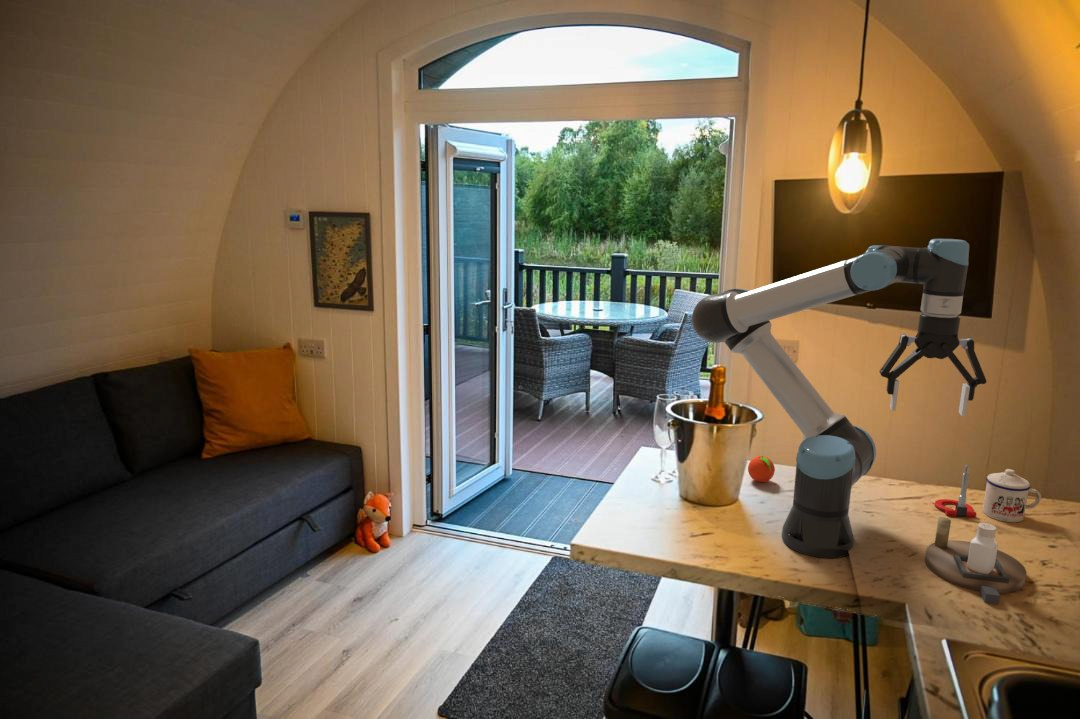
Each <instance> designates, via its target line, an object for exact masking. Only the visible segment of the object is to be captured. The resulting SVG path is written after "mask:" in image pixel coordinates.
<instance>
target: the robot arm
mask: <svg viewBox="0 0 1080 719" xmlns="http://www.w3.org/2000/svg"><path fill="white" fill-rule="evenodd" d="M969 253H970V243H968V242H967V241H966V240H963V239H954V238H933V239H930V241H929V242H928V245H927V247H910V246H898V245H896V246H895V245H888V244H883V245H882V244H880V245H875V244H874V245H871V246H869V247H868V248H867V250H866V251H865V252H864V253H862V254H860V255H857V256H854V257H851V258H849V259H846V260H841V261H839V262H836V263H832V264H829V265H827V266H823V267H820V268H816V269H813V270H811V271H808V272H804V273H802V274H801V273H800V274H798V275H796V276H795V275H794V276H792V277H789V278H785V279H783V280H780V281H776V282H774V283H770V284H768V285H767V284H766V285H763V286H760V287H758V288H755V289H751V290H749V289H744V288H731V289H727V290H725V291H723V292H718V293H715V294H710V295H707V296H705V297H703V298H702V299H701V300H700V301H698V303H697V304H696V305H695V307H694V308H693V311H692V315H691V324H692V327H693V330H694V331H695V333H696V334H697V336H699V337H700V338H701V339H702V340H703V341H706V342H709V343H712V344H713V343H714V344H719V343H724V344H725V345H726V346H727V347H728V349H729V350H730V352H731V353H733V354H740V355H741V356H742V357H743V358H744V359H745V360H746V362H747V363H748V365H750V367H751V369H752V370H753V371H754V372H755V373H756V375H757V376H758V378H760V380H761V381H762V383H763V384H764V385H765V386H766V387H767V389H768V390H769V392H770V393H771V395H772V396H773V397H774V398H775V399H776V401H777V402H778V403H779V404H780V406H781V407H782V408H783V409H784V411H785V412H786V413H787V415H788V416H789V417H790V419H792V421H793V422H794V424H795V425H796V426H797V428H798V429H799V430H800V432H801V433H802V434H803V436H802V441H801V443H800V444H799V446H798V451H797V453H796V458H795V460H796V465H795V477H794V478H795V479H794V487H793V500H792V506H791V508H790V511H789V512H788V514H787V517H786V519H785V521H784V523H783V525H782V527H781V528H782V530H781V539H782V541H783V543H784V544H785V545H786V546H788V547H789V548H790V549H792V550H794V551H796V552H797V553H800V554H803V555H806V556H812V557H815V558H816V557H817V558H824V559H836V558H841V557H846V556H848V555H850V552H849V551H850V550H852V549H853V547H854V542H855V537H854V533H853V529H852V525H851V520H850V516H849V514H850V513H849V512H850V511H849V510H850V502H851V493H852V487H853V486H854V485H855V484H856V483H857V482H858V481H859V480H860V479H861V478H862V477H863V476H866V475H867V474H868V473H869V471H870V470H871V469H872V467H873V465H874V463H875V460H876V457H877V448H876V443H875V441H874V439H873V437H872V435H870V434H869V433H868V432H867V431H866V430H865V429H863V428H861V427H860V426H856V425H853V424H852V422H851V421H850V420H849V419H848V417H847V416H846V415H845V414H840V413H835V412H834V410H832V408H831V407H830V406H829V405H828V403H827V402H826V401H825V399H824V398H823V397H822V396H821V395H820V393H819V392H818V390H816V388H815V386H813V384H812V383H811V382H810V381H809V379H808V378H807V377H806V376H805V374H804V373H803V371H801V369H800V368H799V367H798V366H797V364H796V363H795V362H794V360H793V359H792V358H791V356H790V355H789V354H788V353H787V352H786V351H785V349H784V348H783V347H782V346H781V344H780V343H779V342H778V340H777V338H775V336H774V335H773V334H772V331H771V330H772V325H773V324H772V322H771V320H774V319H779V318H783V317H785V316H789V315H792V314H795V313H796V314H797V313H799V312H801V311H805V310H809V309H813V308H816V307H819V306H823V305H825V304H830V303H833V302H836V301H839V300H843V299H846V298H851V297H853V296H857V295H862V294H864V293H868V292H871V291H873V292H875V291H878V290H879V291H880V290H881V289H884V288H886V287H888V286H890V285H893V284H895V283H903V284H905V283H906V284H907V283H908V284H917V285H923V290H922V297H921V303H920V304H921V305H920V311H921V312H922V313H921V314H919V320H918V326H917V333H916V335H915V336H912V335H907V334H905V333H902V334H900V338H899V340H898V344H897V345H896V347H894V350H893V351H892V353H891V354H890V355H889V357H888V358H887V359H886V361H885V363H884V364H882V367H880V369H879V373H880V375H881V377H882V378H886V379H887V384H886V393H887V394H888V395H890V402H889V408H890V411H895V412H896V410H897V404H898V403H897V402H898V396H899V395H898V392H899V386H900V385H899V384H900V381H899V379H898V378H899V377H900V376H901V375H902V374H903V373H905V372H906V371H907V370H908V369H909V368H910V367H912V366H913V365H914V364H915V363H916V362H917V361H919V360H921V359H922V358H927V359H935V358H936V359H939V360H944V359H946V358H948V359H949V360H950V362H951V363H952V364H953V366H954V367H955V368H956V369H957V371H958V372H959V373H960V375H961V376H962V377H963V379H964V380H965V381H966V382H967V383H965V382H964V383H962V387H961V394H960V400H959V408H958V414H959V415H960V416H961V417H966V416H967V410H968V405H969V404H968V403H969V401H973V400H974V398H975V391H976V388H977V386H978V385H985V384H987V379H986V376H985V374H984V371H983V368H982V366H981V363H980V361H979V358H978V357H977V354H976V352H975V340H973V339H972V338H970V337H966V338H962V339H959V329H960V322H961V318H960V316H959V315H960V314H962V309H963V308H962V307H963V299H964V291H965V289H966V288H965V287H966V280H967V273H968V268H969V263H970V262H969ZM913 343H914V344H915V345H916V348H915V349H914V350H913V351H912V353H911V354H909V355H908V356H906V358H905V359H904V360H902V361H901V362H900V363H899V364H898V365H897V366H896V367H894V366H895V365H896V364H897V362H898V360H899V359H900V358H901V356H902V355H903V354H904V352H905V350H906V349H907V347H909V346H911V344H913ZM959 346H961V348H962V349H963V350H964V351H965V353H966V356H967V358H968V361H969V363H970V365H971V369H972V370H973V374H974V376H975V377H973V376H972V375H971V374H970V372H969V371H968V370H967V368H966V367H965V366H964V364H963V363H962V362H961V361H960V359H959V358H958V357H957V355H956V354H955V353H954V351H955V350H956V349H957V348H958V347H959Z"/></svg>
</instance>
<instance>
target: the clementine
mask: <svg viewBox="0 0 1080 719" xmlns="http://www.w3.org/2000/svg"><path fill="white" fill-rule="evenodd" d="M747 466H748V467H747V472H748V475H749V477H750V478H752V480H753V481H756V482H758V483H766V482H768V481H770V480H771V479H772V478H773V477H774V475H775V471H776V469H775V468H776V467H775V464H774V462H773V461H772V460H771V459H769V457H767V456H764V455H758V456H755V457H753V458H752V459H751V460H750V462H749V463H748V465H747Z"/></svg>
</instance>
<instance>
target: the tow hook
mask: <svg viewBox="0 0 1080 719" xmlns="http://www.w3.org/2000/svg"><path fill="white" fill-rule="evenodd" d="M969 468H970V466H969V465H967V464H966V465H964V472H963V473H962V480H961V486H960V493H959V496H958V500H956V499H949V498H946V499H945V498H944V499H940V498H939V499H937V500H935V502H934V507H935V508H936V509H938V510H940V511H942V512H944V513H945V515H946V516H951V517H952V516H953V517H960V518H966V517H967V518H976V517H977V511H975V510H974V507H973V506H972V505H970V504H969V503H967V489H968V484H969V483H968V482H969ZM945 505H954V506H955V507H954V508H955V509H954V508H951V507H948V506H945Z"/></svg>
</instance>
